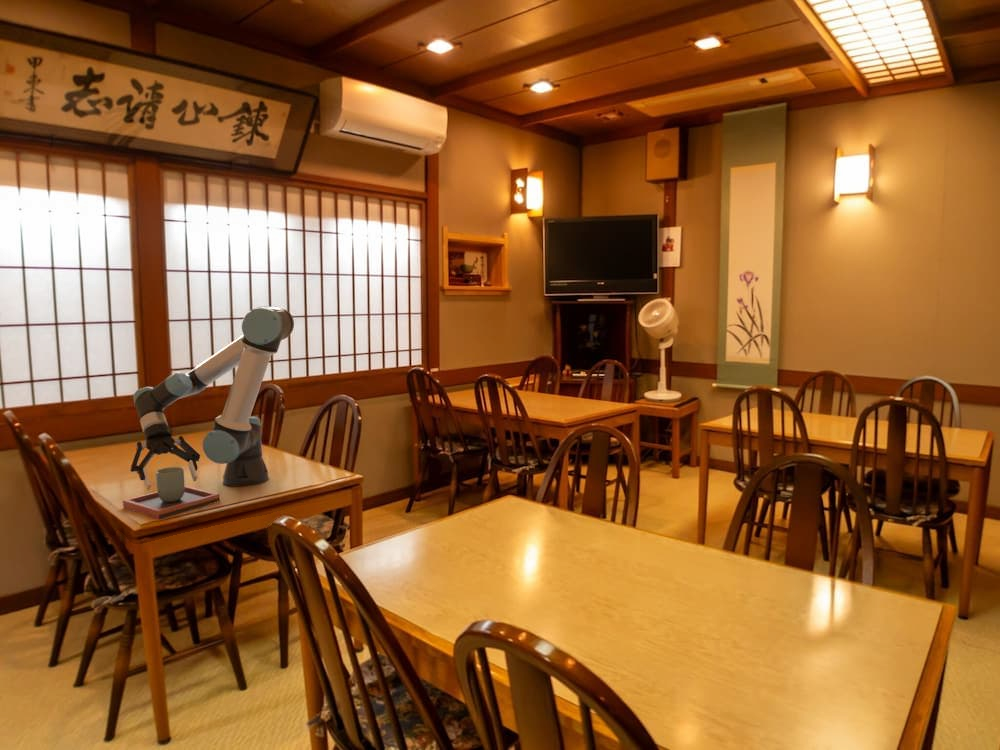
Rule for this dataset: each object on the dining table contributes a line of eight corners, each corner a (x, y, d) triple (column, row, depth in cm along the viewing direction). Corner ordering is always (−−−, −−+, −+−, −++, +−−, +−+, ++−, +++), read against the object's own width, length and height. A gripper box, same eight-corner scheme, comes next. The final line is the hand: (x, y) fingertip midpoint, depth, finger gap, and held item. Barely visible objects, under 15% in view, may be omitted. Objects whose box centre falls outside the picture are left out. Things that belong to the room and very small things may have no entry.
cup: (190, 497, 213) (188, 467, 212) (176, 504, 206) (174, 473, 205) (167, 496, 214) (165, 466, 213) (152, 504, 207) (150, 473, 205)
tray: (219, 501, 213) (219, 494, 213) (158, 519, 196) (158, 511, 196) (183, 491, 224) (183, 484, 224) (123, 507, 207) (122, 500, 207)
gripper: (193, 430, 227) (211, 482, 218) (111, 441, 211) (126, 497, 202) (197, 417, 223) (216, 469, 213) (114, 427, 206) (129, 484, 197)
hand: (172, 483), depth 207 cm, fingers open, 13 cm apart
